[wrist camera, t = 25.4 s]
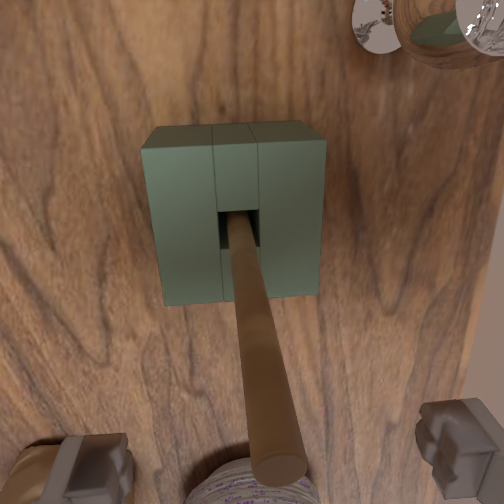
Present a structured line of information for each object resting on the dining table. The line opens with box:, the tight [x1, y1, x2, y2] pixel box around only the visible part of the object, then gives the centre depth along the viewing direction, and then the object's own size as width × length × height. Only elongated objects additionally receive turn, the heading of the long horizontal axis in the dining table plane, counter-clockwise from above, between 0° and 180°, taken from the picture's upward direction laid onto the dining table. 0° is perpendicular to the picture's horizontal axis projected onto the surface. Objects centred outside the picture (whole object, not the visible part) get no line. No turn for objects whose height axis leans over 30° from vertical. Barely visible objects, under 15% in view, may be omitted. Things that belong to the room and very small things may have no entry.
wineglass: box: [351, 0, 504, 70], centre depth 19 cm, size 6×6×12 cm
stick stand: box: [140, 120, 327, 306], centre depth 26 cm, size 10×10×7 cm
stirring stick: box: [226, 210, 308, 487], centre depth 19 cm, size 1×1×22 cm
